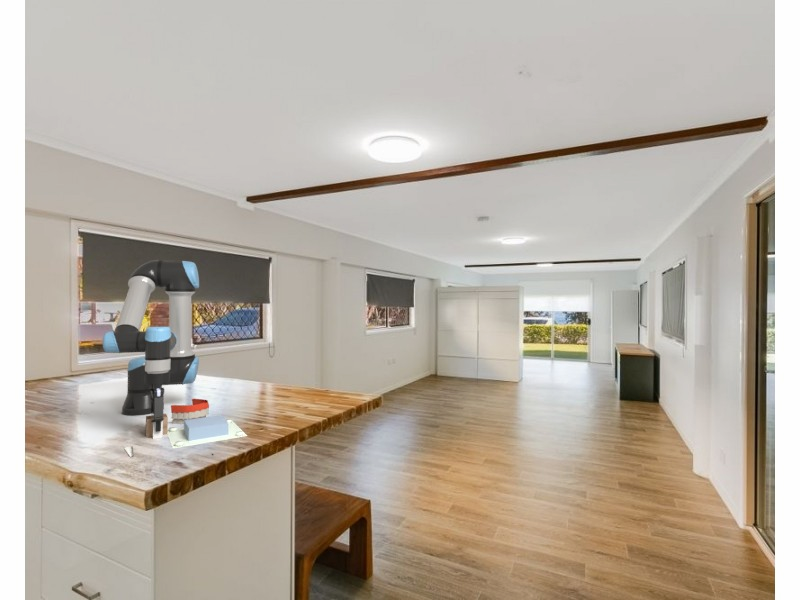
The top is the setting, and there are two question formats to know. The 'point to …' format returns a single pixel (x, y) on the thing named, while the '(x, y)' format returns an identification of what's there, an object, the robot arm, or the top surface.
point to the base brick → (205, 427)
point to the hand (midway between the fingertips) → (156, 436)
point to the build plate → (180, 439)
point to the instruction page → (129, 451)
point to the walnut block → (150, 425)
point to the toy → (189, 411)
